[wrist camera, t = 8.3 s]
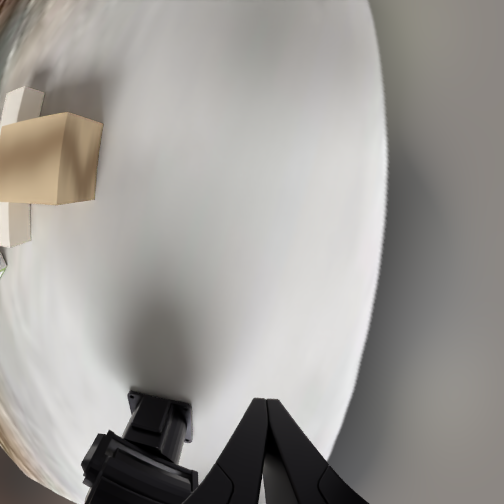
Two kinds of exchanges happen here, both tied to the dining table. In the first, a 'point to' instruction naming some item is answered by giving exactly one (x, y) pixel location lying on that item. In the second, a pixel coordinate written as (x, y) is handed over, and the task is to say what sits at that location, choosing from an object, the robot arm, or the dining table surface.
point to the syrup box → (2, 265)
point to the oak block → (49, 159)
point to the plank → (7, 213)
